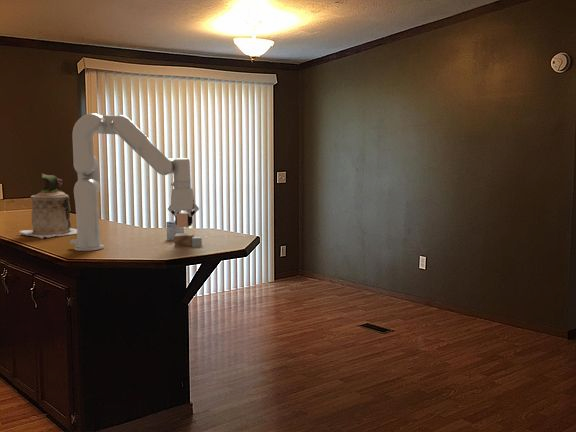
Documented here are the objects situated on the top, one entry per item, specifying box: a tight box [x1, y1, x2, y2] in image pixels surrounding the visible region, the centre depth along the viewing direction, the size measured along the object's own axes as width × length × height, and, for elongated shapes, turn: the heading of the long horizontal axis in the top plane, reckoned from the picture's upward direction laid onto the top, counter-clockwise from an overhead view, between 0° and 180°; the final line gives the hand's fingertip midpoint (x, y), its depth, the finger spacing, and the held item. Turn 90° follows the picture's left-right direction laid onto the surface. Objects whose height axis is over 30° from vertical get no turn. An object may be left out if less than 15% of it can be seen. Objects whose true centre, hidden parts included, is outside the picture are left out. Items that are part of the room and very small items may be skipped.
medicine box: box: [165, 220, 185, 241], centre depth 282 cm, size 8×4×9 cm, turn 149°
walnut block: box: [173, 232, 195, 247], centre depth 264 cm, size 8×8×5 cm
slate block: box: [191, 236, 203, 248], centre depth 260 cm, size 4×4×4 cm
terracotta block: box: [176, 212, 192, 228], centre depth 263 cm, size 5×5×6 cm
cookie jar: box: [19, 173, 77, 239], centre depth 302 cm, size 25×25×32 cm
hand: (184, 224), depth 263 cm, fingers closed on terracotta block, 5 cm apart
